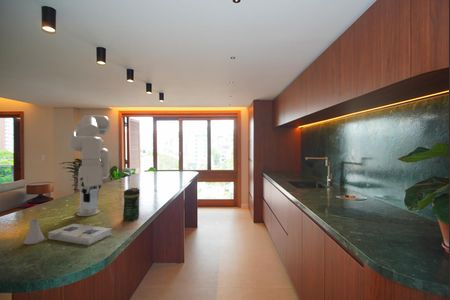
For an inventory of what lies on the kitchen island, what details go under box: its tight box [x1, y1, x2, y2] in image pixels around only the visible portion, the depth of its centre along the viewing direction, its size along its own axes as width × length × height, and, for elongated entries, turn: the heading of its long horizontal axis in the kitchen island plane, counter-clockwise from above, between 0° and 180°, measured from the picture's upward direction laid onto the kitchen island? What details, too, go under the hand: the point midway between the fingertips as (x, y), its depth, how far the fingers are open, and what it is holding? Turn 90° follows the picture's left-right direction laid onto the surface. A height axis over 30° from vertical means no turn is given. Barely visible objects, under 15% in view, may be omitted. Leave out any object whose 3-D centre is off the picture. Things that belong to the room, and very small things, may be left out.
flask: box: [22, 218, 45, 246], centre depth 104 cm, size 7×7×10 cm
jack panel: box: [48, 223, 112, 246], centre depth 110 cm, size 24×13×4 cm, turn 74°
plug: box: [84, 187, 99, 209], centre depth 109 cm, size 5×4×12 cm
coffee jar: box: [122, 187, 140, 222], centre depth 139 cm, size 10×8×19 cm
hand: (90, 200), depth 109 cm, fingers closed on plug, 4 cm apart
